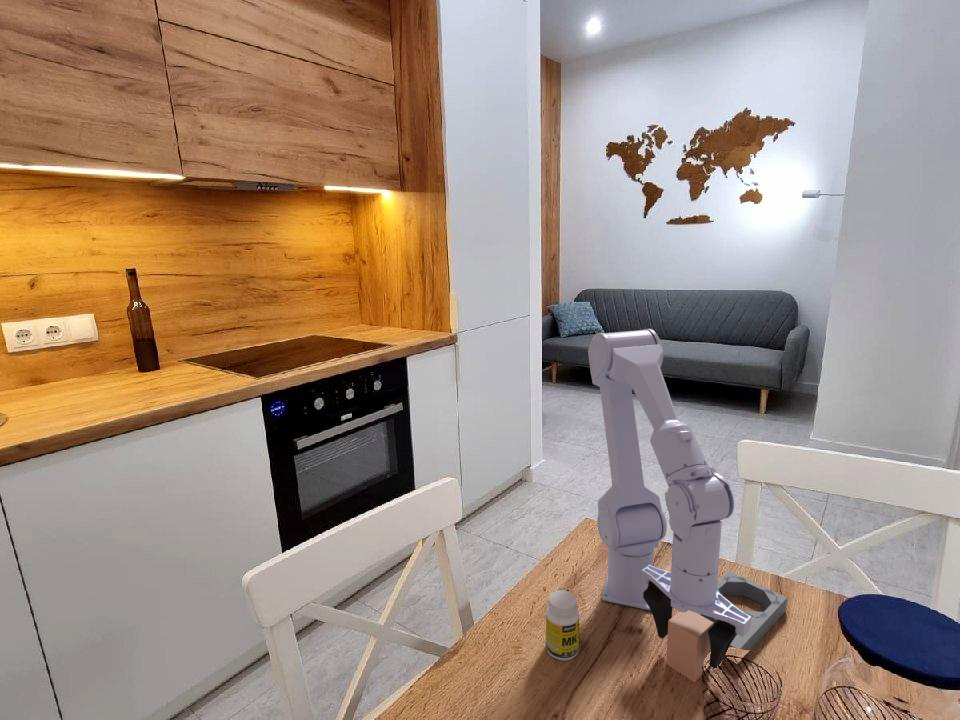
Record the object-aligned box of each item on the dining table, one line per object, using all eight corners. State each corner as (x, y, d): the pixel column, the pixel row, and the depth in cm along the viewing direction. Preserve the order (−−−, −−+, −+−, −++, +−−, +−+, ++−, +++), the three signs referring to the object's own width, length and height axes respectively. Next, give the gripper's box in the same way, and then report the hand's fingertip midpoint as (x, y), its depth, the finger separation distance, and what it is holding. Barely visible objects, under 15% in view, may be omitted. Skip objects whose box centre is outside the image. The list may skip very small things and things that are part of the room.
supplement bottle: (563, 667, 73) (563, 615, 71) (539, 648, 76) (538, 598, 74) (585, 649, 76) (586, 599, 74) (561, 632, 79) (561, 583, 77)
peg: (666, 663, 73) (668, 620, 71) (682, 648, 75) (684, 606, 74) (694, 682, 70) (697, 637, 68) (710, 665, 72) (713, 622, 70)
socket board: (737, 665, 72) (739, 649, 71) (677, 629, 79) (678, 615, 78) (785, 611, 82) (787, 597, 81) (728, 583, 89) (729, 570, 88)
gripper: (629, 551, 72) (627, 635, 75) (735, 604, 61) (727, 700, 64) (658, 531, 76) (655, 612, 79) (762, 578, 65) (753, 669, 68)
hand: (689, 649), depth 72 cm, fingers open, 7 cm apart
